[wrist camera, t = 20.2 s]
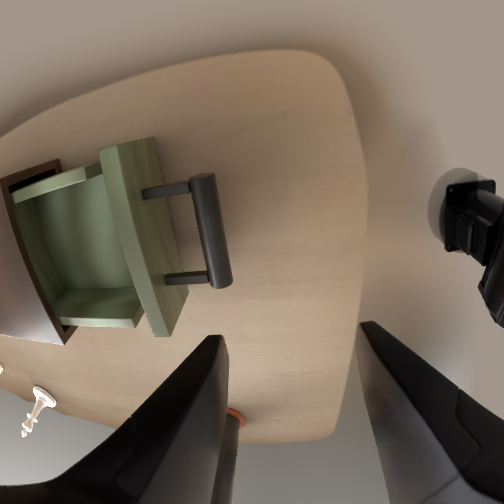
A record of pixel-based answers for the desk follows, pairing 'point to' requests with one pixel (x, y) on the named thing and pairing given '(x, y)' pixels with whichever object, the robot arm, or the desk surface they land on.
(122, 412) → the desk surface
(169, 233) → the drawer
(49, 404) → the chess piece
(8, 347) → the desk surface
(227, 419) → the pepper mill
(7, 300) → the cabinet
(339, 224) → the desk surface
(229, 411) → the coaster
